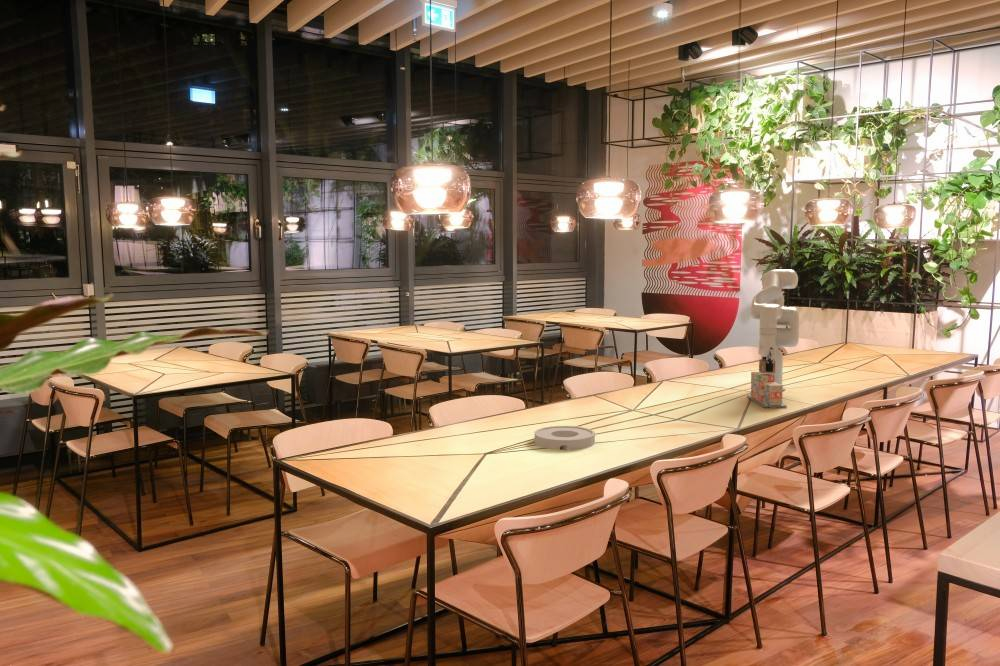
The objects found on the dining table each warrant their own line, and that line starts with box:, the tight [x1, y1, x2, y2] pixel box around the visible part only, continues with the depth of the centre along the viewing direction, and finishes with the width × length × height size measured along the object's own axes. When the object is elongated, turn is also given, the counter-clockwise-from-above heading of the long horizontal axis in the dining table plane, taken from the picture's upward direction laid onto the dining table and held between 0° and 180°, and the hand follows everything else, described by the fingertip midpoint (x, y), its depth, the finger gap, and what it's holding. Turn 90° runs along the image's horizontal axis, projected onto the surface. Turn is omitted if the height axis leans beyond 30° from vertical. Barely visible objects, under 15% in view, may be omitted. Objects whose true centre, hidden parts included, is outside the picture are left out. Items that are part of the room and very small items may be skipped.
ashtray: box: [533, 425, 596, 451], centre depth 296 cm, size 23×23×4 cm
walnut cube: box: [758, 358, 775, 373], centre depth 362 cm, size 6×6×6 cm
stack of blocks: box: [750, 371, 784, 405], centre depth 361 cm, size 21×6×12 cm, turn 4°
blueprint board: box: [746, 395, 788, 408], centre depth 363 cm, size 25×10×1 cm, turn 0°
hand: (767, 370), depth 362 cm, fingers closed on walnut cube, 5 cm apart
